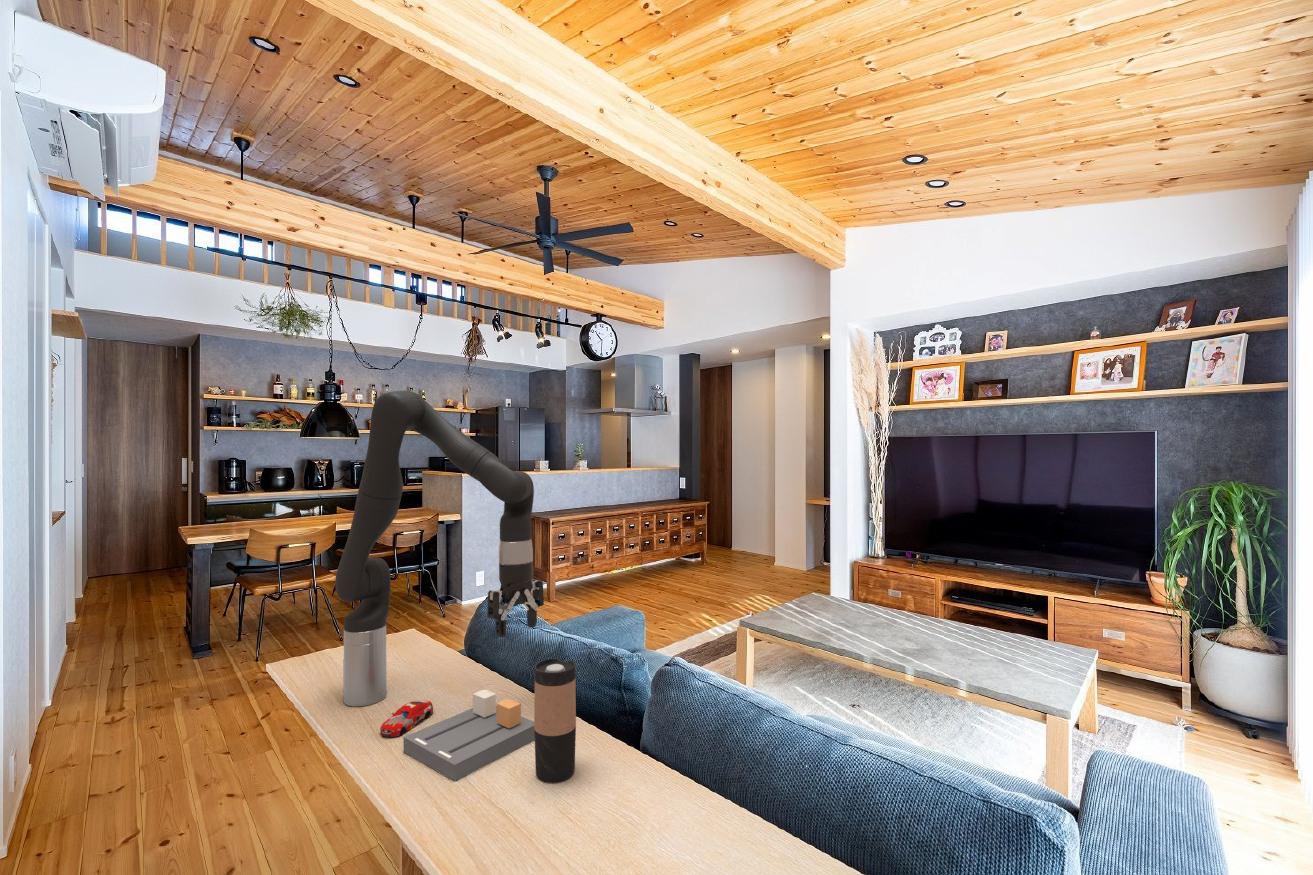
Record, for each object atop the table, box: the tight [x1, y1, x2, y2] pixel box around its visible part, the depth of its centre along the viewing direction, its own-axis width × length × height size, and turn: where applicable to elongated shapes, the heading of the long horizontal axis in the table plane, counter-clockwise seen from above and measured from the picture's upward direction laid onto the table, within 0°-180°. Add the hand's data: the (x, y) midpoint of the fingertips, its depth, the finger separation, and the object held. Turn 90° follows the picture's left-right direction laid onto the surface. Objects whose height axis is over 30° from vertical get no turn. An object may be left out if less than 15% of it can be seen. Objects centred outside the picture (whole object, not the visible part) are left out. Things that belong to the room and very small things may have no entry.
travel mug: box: [533, 657, 577, 784], centre depth 112 cm, size 8×8×20 cm
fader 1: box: [472, 689, 497, 718], centre depth 130 cm, size 4×3×4 cm
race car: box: [379, 699, 434, 738], centre depth 132 cm, size 13×5×4 cm, turn 161°
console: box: [402, 705, 535, 782], centre depth 123 cm, size 17×20×3 cm
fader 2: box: [496, 698, 522, 728], centre depth 125 cm, size 4×3×4 cm
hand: (516, 631), depth 137 cm, fingers open, 8 cm apart
